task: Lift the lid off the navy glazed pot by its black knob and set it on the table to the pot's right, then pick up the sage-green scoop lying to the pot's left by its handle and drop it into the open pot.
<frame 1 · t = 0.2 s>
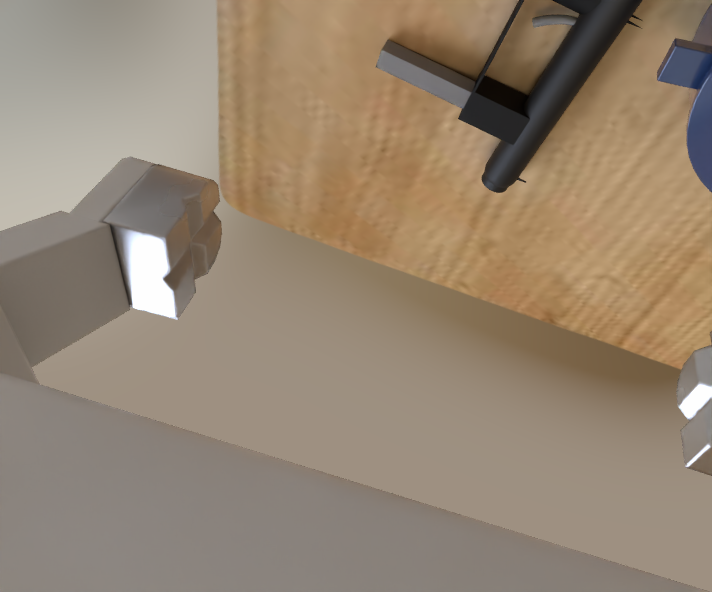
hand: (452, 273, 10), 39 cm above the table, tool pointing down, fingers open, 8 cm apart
door handle: (492, 51, 48), on the table
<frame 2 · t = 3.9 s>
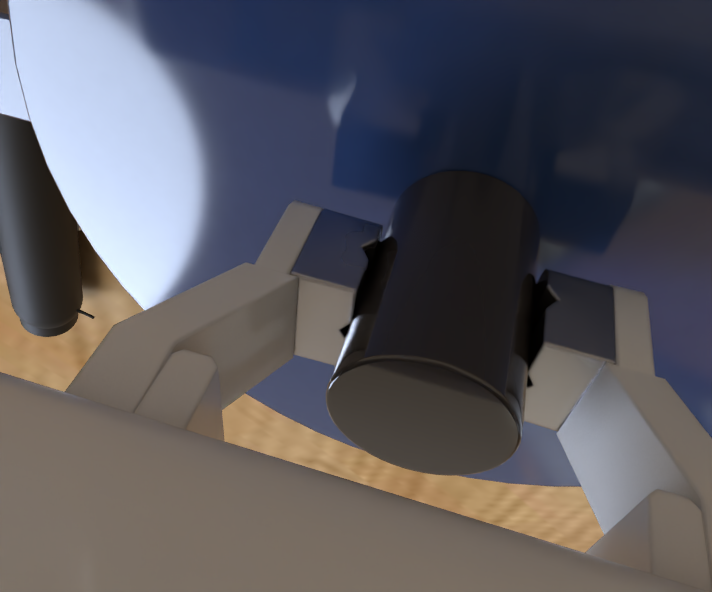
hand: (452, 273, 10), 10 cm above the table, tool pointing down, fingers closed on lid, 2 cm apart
pot: (508, 34, 16), on the table
lid: (467, 212, 11), point 8 cm above the table, touching gripper, pot
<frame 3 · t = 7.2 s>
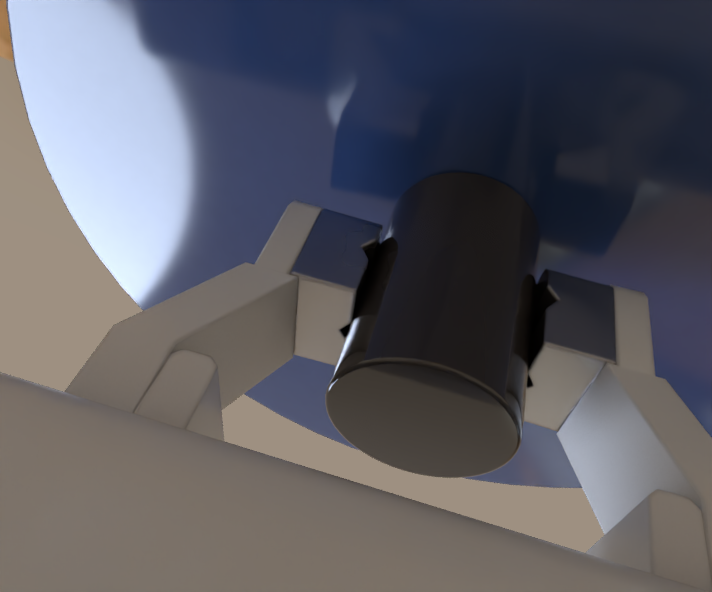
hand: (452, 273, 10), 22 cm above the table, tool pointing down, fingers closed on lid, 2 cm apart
lid: (467, 213, 11), point 20 cm above the table, touching gripper
when the fingers open (2 cm above the table, at t = 10.9 s): lid stays where it is, point 1 cm above the table.
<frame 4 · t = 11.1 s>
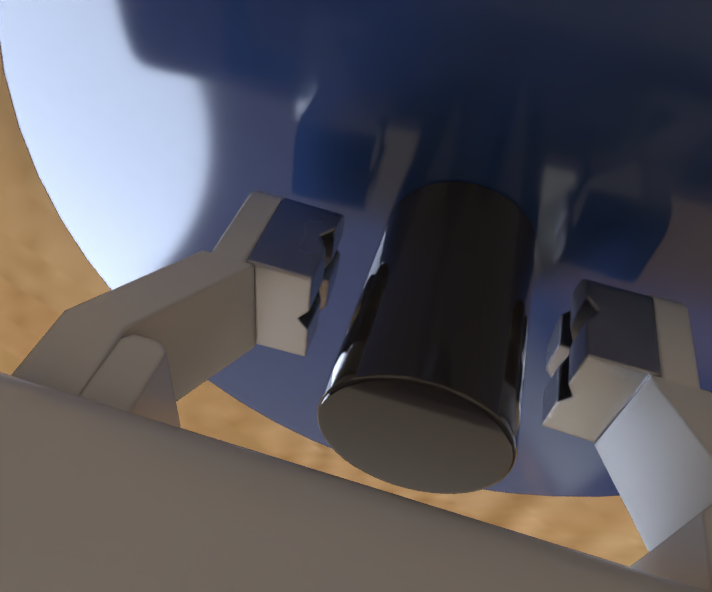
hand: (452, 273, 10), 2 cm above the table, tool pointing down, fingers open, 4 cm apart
lid: (463, 222, 11), point 1 cm above the table
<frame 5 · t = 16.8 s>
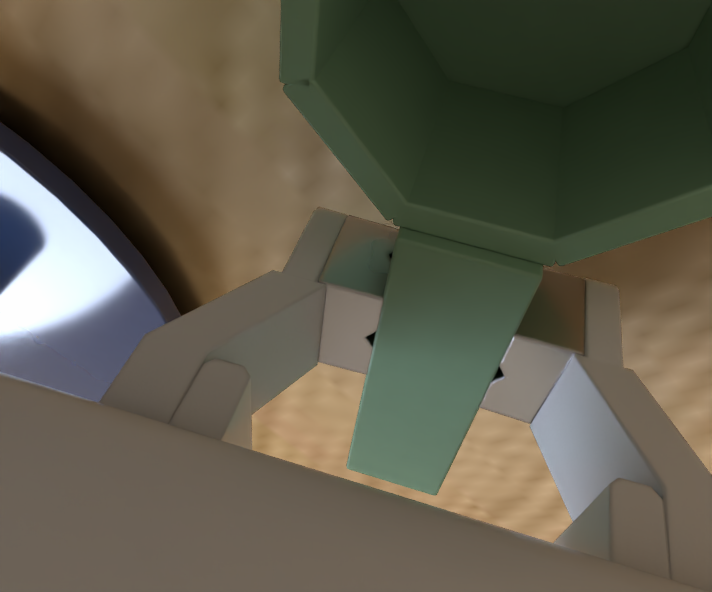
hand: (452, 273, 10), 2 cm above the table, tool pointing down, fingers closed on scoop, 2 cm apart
scoop: (493, 128, 10), on the table, touching gripper
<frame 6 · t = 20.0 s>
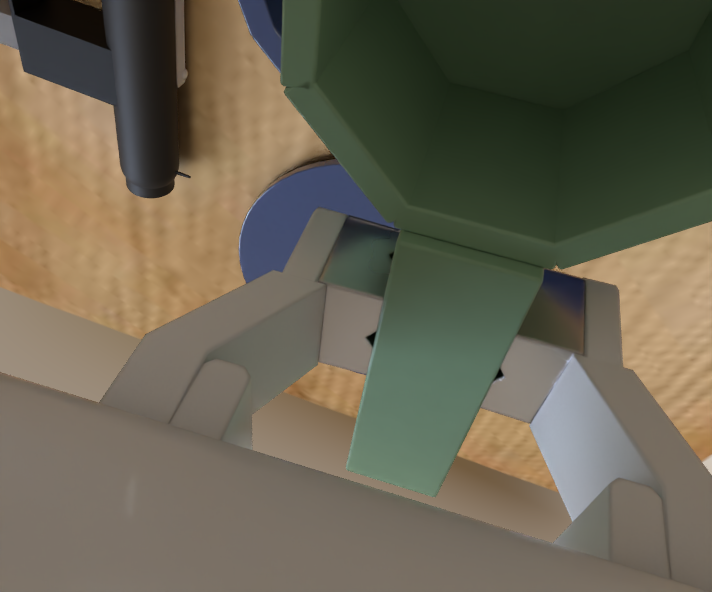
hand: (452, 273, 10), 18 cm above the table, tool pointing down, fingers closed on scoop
lid: (376, 282, 36), point 1 cm above the table
scoop: (493, 130, 10), point 16 cm above the table, touching gripper
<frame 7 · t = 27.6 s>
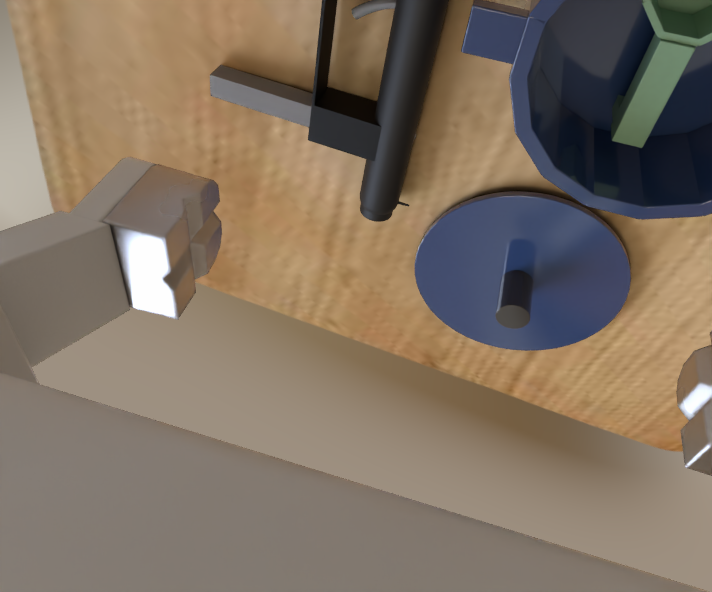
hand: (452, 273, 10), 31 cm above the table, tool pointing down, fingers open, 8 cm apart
pot: (668, 19, 34), on the table
lid: (517, 276, 50), point 1 cm above the table
door handle: (330, 59, 42), on the table
scoop: (667, 24, 34), resting on pot
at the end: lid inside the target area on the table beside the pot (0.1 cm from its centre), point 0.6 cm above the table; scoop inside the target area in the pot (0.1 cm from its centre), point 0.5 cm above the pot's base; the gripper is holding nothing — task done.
